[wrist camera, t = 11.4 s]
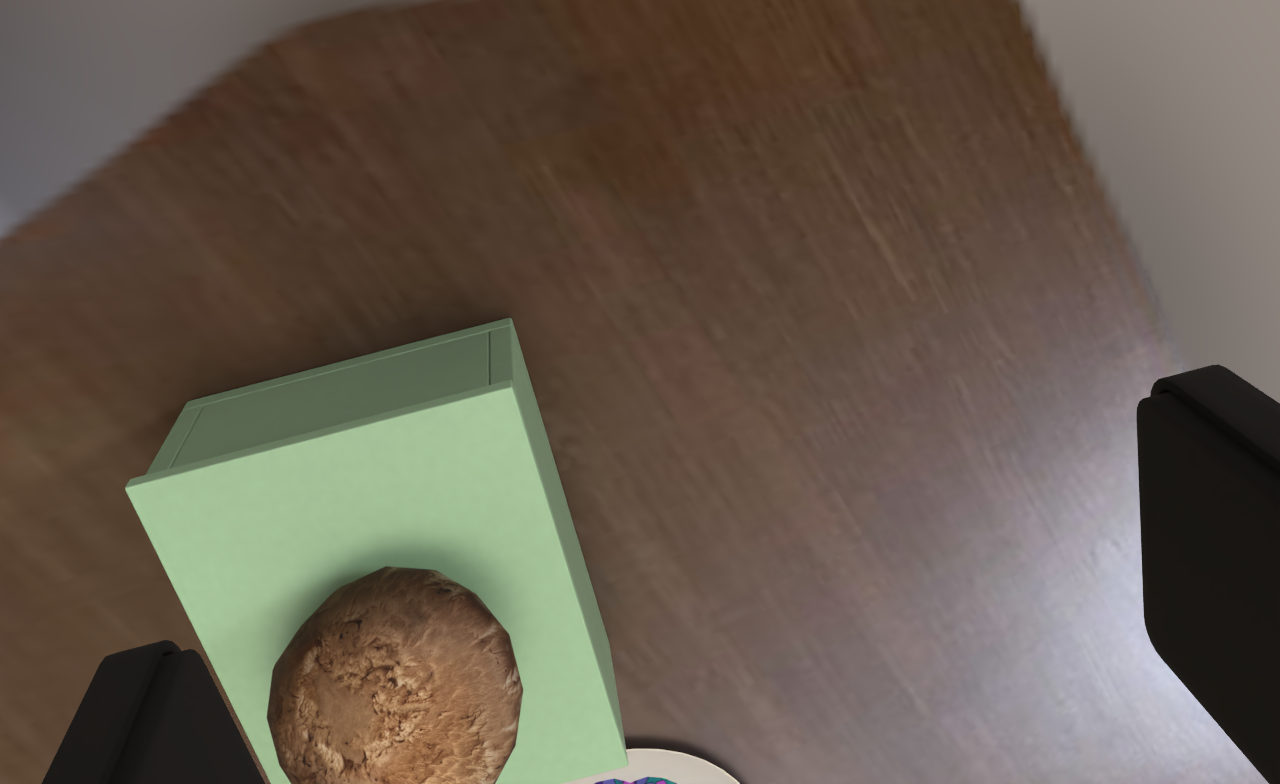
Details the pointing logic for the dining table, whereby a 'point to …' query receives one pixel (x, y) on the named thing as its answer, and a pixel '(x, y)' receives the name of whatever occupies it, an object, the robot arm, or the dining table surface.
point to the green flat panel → (387, 558)
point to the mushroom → (396, 686)
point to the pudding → (661, 770)
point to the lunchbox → (379, 390)
